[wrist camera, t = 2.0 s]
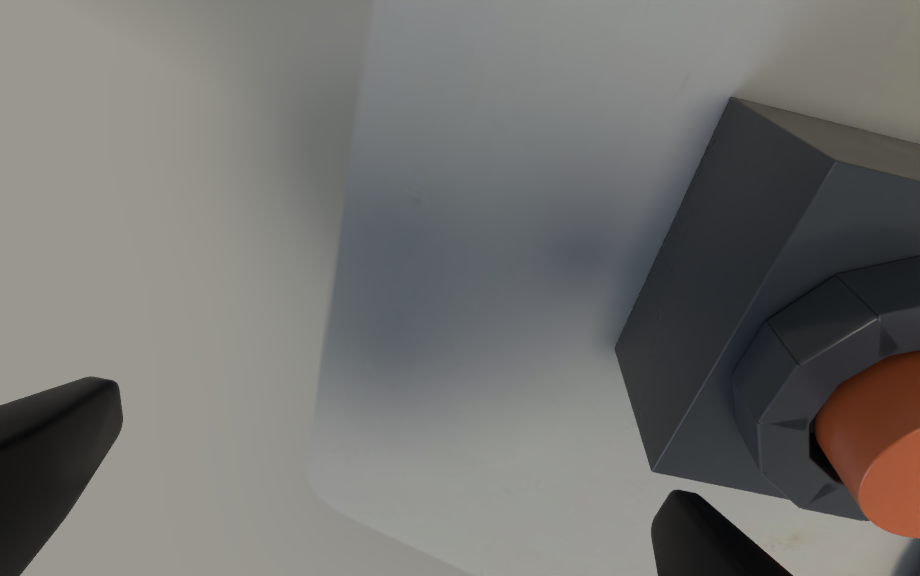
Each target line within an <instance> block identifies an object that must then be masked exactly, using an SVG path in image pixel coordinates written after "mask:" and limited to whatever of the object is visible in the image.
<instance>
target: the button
mask: <svg viewBox="0 0 920 576" xmlns="http://www.w3.org/2000/svg"><path fill="white" fill-rule="evenodd" d="M814 429H815V437H816V440H817V443H818V444H819V446H820V448H821V450H822V451H823V453H824V454H825V456H826V457H827V459H828V460H829V462H830V463H831V465H832V466H833V468H834V469H835V471H836V472H837V474H838V475H839V477H840V478H841V480H842V482H843V483H844V485H845V486H846V488H847V489H848V491H849V492H850V494H851V495H852V497H853V498H854V500H855V501H856V503H857V504H858V506H859V507H860V509H861V510H862V512H863V514H864V515H865V516H866V517H867V518H868V519H869V520H870V521H871V522H872V523H874V524H875V525H876V526H878V527H880V528H882V529H883V530H885V531H888V532H891V533H893V534H897V535H901V536H905V537H912V538H920V350H918V351H913V352H907V353H902V354H897V355H891V356H888V357H886V358H884V359H883V360H881V361H879V362H877V363H876V364H874V365H872V366H870V367H869V368H867V369H865V370H863V371H862V372H860V373H858V374H856V375H855V376H853V377H851V378H849V379H848V380H846V381H844V382H842V383H841V384H839V386H838V387H837V388H836V390H835V391H834V392H833V394H832V395H831V396H830V398H829V399H828V400H827V401H826V403H825V404H824V405H823V407H822V408H821V409H820V411H819V412H818V413H817V415H816V418H815V426H814Z"/></svg>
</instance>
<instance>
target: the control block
mask: <svg viewBox="0 0 920 576" xmlns="http://www.w3.org/2000/svg"><path fill="white" fill-rule="evenodd" d="M918 350H920V144H916V143H912V142H908V141H904V140H901V139H897V138H893V137H889V136H885V135H881V134H877V133H873V132H869V131H865V130H861V129H857V128H853V127H849V126H845V125H841V124H837V123H833V122H829V121H825V120H821V119H817V118H813V117H810V116H806V115H802V114H798V113H794V112H790V111H786V110H782V109H778V108H774V107H770V106H766V105H762V104H758V103H754V102H750V101H746V100H742V99H738V98H734V97H731V98H730V100H729V103H728V105H727V107H726V109H725V111H724V113H723V116H722V118H721V120H720V122H719V124H718V126H717V129H716V131H715V133H714V135H713V137H712V139H711V141H710V144H709V146H708V148H707V150H706V152H705V154H704V157H703V159H702V161H701V163H700V165H699V167H698V170H697V172H696V174H695V176H694V178H693V180H692V183H691V185H690V187H689V189H688V191H687V193H686V196H685V198H684V200H683V202H682V204H681V206H680V209H679V211H678V213H677V215H676V217H675V219H674V222H673V224H672V226H671V228H670V230H669V232H668V234H667V237H666V239H665V241H664V243H663V245H662V247H661V250H660V252H659V254H658V256H657V258H656V260H655V263H654V265H653V267H652V269H651V271H650V273H649V276H648V278H647V280H646V282H645V284H644V286H643V289H642V291H641V293H640V295H639V297H638V299H637V302H636V304H635V306H634V308H633V310H632V312H631V315H630V317H629V319H628V321H627V323H626V325H625V327H624V330H623V332H622V334H621V336H620V338H619V340H618V343H617V345H616V347H615V352H616V355H617V359H618V362H619V365H620V369H621V372H622V375H623V379H624V382H625V385H626V389H627V392H628V395H629V399H630V402H631V405H632V409H633V412H634V415H635V419H636V422H637V425H638V428H639V432H640V435H641V438H642V442H643V445H644V448H645V452H646V455H647V458H648V462H649V465H650V468H651V471H652V472H656V473H660V474H665V475H670V476H675V477H680V478H685V479H690V480H695V481H700V482H705V483H710V484H715V485H720V486H724V487H729V488H734V489H739V490H744V491H749V492H754V493H759V494H764V495H769V496H774V497H779V498H784V499H788V500H791V501H792V502H793V503H794V504H795V505H796V506H797V507H799V508H802V509H806V510H811V511H816V512H821V513H825V514H830V515H835V516H840V517H845V518H850V519H855V520H860V521H863V520H865V521H870V520H869V519H868V518H867V517H866V516H865V515H864V514H863V512H862V510H861V509H860V507H859V506H858V504H857V503H856V501H855V500H854V498H853V497H852V495H851V494H850V492H849V491H848V489H847V488H846V486H845V485H844V483H843V482H842V480H841V478H840V477H839V475H838V474H837V472H836V471H835V469H834V468H833V466H832V465H831V463H830V462H829V460H828V459H827V457H826V456H825V454H824V453H823V451H822V450H821V448H820V446H819V444H818V443H817V440H816V437H815V429H814V426H815V418H816V415H817V413H818V412H819V411H820V409H821V408H822V407H823V405H824V404H825V403H826V401H827V400H828V399H829V398H830V396H831V395H832V394H833V392H834V391H835V390H836V388H837V387H838V386H839V384H841V383H842V382H844V381H846V380H848V379H849V378H851V377H853V376H855V375H856V374H858V373H860V372H862V371H863V370H865V369H867V368H869V367H870V366H872V365H874V364H876V363H877V362H879V361H881V360H883V359H884V358H886V357H888V356H891V355H897V354H902V353H907V352H913V351H918Z"/></svg>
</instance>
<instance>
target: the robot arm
mask: <svg viewBox="0 0 920 576" xmlns="http://www.w3.org/2000/svg"><path fill="white" fill-rule="evenodd" d="M122 423H123V414H122V406H121V398H120V391H119V386H118V384H117V383H116V382H115V381H113V380H108V379H102V378H98V377H85V378H82V379H79V380H76V381H73V382H70V383H67V384H64V385H61V386H58V387H55V388H52V389H49V390H46V391H43V392H40V393H37V394H34V395H31V396H28V397H25V398H21V399H18V400H15V401H12V402H9V403H7V404H3V405H0V576H20V574H21V573H22V572H23V571H24V570H25V568H26V567H27V566H28V565H29V563H30V562H31V561H32V560H33V558H34V557H35V556H36V554H37V553H38V552H39V551H40V550H41V548H42V547H43V546H44V544H45V543H46V542H47V541H48V539H49V538H50V537H51V535H52V534H53V533H54V532H55V531H56V530H57V528H58V527H59V525H60V524H61V523H62V522H63V520H64V519H65V518H66V516H67V515H68V514H69V512H70V511H71V509H72V508H73V506H74V505H75V503H76V502H77V500H78V499H79V497H80V495H81V494H82V492H83V491H84V489H85V488H86V486H87V484H88V483H89V481H90V480H91V478H92V477H93V475H94V473H95V472H96V470H97V468H98V467H99V465H100V464H101V462H102V461H103V459H104V458H105V456H106V454H107V453H108V451H109V450H110V448H111V446H112V445H113V443H114V442H115V440H116V439H117V437H118V435H119V433H120V431H121V428H122ZM651 537H652V544H653V549H654V555H655V561H656V567H657V573H658V576H793V575H792V574H790V573H789V572H788V571H787V570H786V569H785V568H784V567H782V566H781V565H780V564H779V563H778V562H777V561H775V560H774V559H773V558H772V557H771V556H770V555H768V554H767V553H766V552H765V551H764V550H763V549H761V548H760V547H759V546H758V545H757V544H756V543H754V542H753V541H752V540H751V539H750V538H749V537H747V536H746V535H745V534H744V533H743V532H742V531H740V530H739V529H738V528H737V527H736V526H735V525H733V524H732V523H731V522H730V521H729V520H728V519H727V518H725V517H724V516H723V515H722V514H721V513H720V512H718V511H717V510H716V509H715V508H714V507H713V506H711V505H710V504H709V503H708V502H707V501H706V500H704V499H703V498H702V497H701V496H699V495H698V494H696V493H692V492H687V491H682V490H673V491H672V492H670V494H669V495H668V497H667V498H666V500H665V501H664V503H663V505H662V506H661V508H660V509H659V511H658V513H657V514H656V516H655V517H654V520H653V522H652V527H651Z"/></svg>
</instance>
